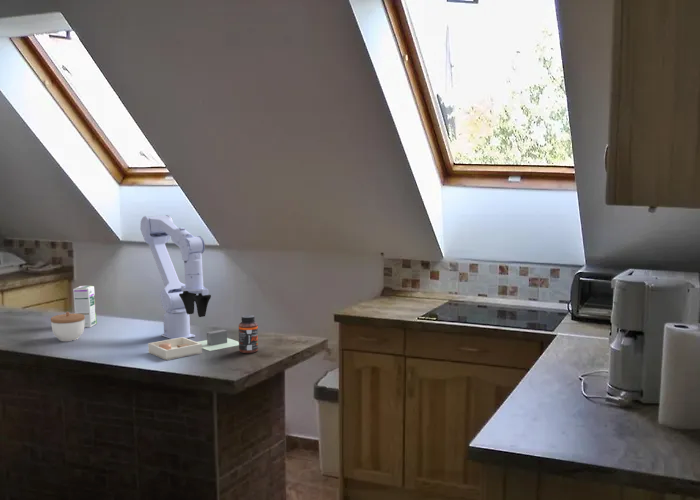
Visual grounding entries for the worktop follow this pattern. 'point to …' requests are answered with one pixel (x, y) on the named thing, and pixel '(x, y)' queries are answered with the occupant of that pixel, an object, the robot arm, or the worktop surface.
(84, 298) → the syrup box
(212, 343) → the lid
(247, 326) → the supplement bottle
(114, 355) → the worktop surface
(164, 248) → the robot arm
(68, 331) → the lidded jar
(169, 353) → the storage box
